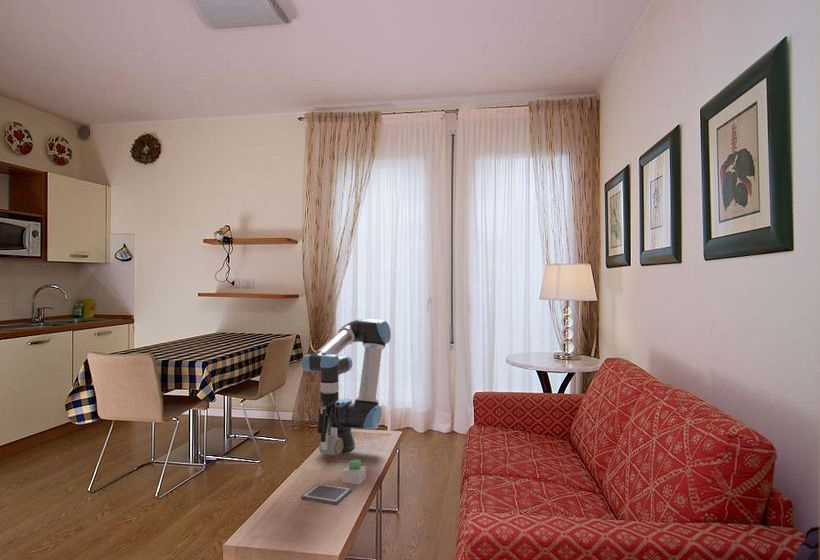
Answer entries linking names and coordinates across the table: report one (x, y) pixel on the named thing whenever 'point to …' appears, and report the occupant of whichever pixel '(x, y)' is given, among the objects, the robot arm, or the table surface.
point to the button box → (354, 475)
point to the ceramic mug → (332, 446)
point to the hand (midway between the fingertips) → (329, 445)
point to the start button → (354, 463)
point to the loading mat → (327, 493)
